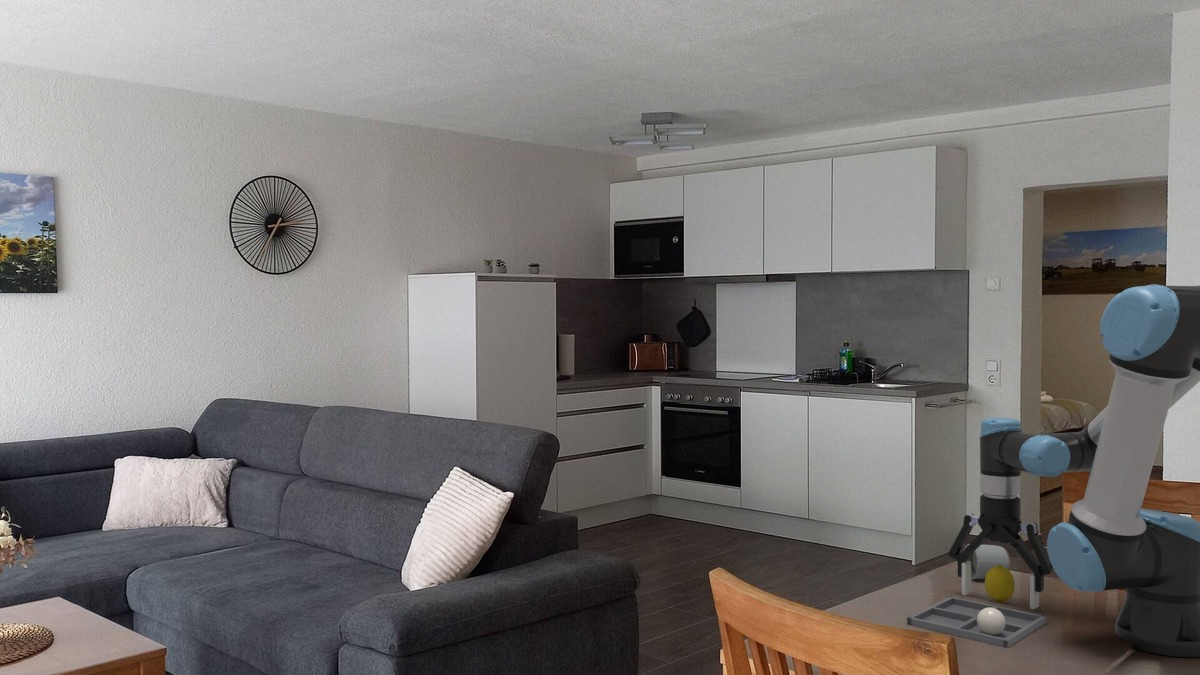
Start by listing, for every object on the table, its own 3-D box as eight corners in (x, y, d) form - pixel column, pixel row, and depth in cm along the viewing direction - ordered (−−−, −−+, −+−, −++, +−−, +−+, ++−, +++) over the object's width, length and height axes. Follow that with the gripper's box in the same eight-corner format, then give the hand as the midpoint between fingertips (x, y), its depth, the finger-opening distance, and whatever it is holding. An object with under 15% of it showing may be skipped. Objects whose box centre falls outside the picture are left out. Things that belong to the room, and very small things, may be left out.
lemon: (1017, 609, 190) (1017, 568, 190) (987, 607, 191) (987, 567, 191) (1011, 601, 196) (1011, 561, 195) (982, 599, 197) (982, 560, 197)
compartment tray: (1046, 628, 179) (1046, 616, 179) (1007, 653, 165) (1007, 640, 165) (950, 607, 191) (950, 596, 191) (907, 629, 178) (907, 617, 178)
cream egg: (1009, 634, 172) (1010, 607, 172) (999, 641, 169) (999, 613, 169) (983, 628, 176) (983, 602, 176) (972, 634, 172) (972, 608, 172)
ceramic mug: (1013, 582, 209) (1013, 547, 209) (977, 583, 208) (977, 548, 208) (988, 570, 220) (988, 536, 220) (954, 571, 219) (954, 537, 219)
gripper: (1072, 500, 187) (1071, 609, 187) (948, 485, 204) (947, 584, 205) (1058, 506, 182) (1057, 618, 182) (932, 489, 199) (931, 591, 199)
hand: (999, 600), depth 193 cm, fingers open, 13 cm apart
